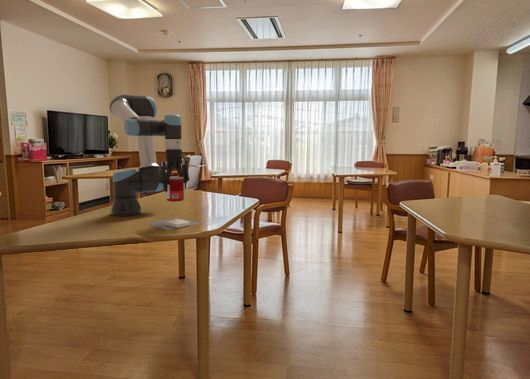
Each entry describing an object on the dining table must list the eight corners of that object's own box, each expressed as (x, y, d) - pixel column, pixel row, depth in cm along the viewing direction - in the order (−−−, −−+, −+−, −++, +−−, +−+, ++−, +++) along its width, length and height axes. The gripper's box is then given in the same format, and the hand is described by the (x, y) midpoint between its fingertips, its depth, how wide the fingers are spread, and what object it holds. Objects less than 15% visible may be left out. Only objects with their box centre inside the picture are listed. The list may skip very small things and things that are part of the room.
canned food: (187, 199, 175) (186, 176, 174) (174, 202, 169) (173, 178, 167) (176, 198, 179) (175, 176, 178) (163, 200, 173) (162, 177, 171)
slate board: (145, 226, 168) (144, 223, 167) (177, 220, 181) (177, 217, 181) (168, 233, 156) (168, 230, 156) (201, 225, 170) (201, 223, 169)
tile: (164, 221, 165) (176, 224, 159) (177, 219, 170) (189, 221, 164) (164, 225, 165) (177, 228, 159) (177, 222, 170) (190, 225, 165)
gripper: (158, 149, 161) (160, 200, 164) (196, 148, 176) (197, 195, 179) (149, 149, 165) (151, 199, 168) (186, 148, 181) (188, 194, 184)
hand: (175, 197), depth 174 cm, fingers closed on canned food, 8 cm apart
